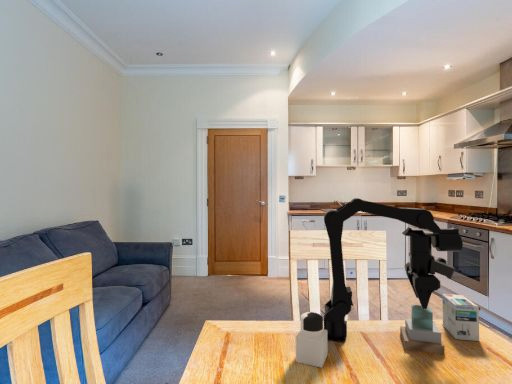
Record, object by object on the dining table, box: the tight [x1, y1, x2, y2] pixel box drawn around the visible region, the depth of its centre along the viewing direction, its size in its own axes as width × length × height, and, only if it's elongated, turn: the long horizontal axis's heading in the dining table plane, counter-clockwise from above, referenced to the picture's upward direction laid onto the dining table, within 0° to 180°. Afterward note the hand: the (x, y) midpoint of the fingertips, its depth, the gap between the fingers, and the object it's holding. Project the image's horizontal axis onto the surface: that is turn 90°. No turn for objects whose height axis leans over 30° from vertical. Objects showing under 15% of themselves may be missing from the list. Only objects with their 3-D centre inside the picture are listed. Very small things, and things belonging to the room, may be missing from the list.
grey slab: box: [404, 318, 442, 343], centre depth 92 cm, size 8×8×3 cm
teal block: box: [411, 304, 434, 330], centre depth 92 cm, size 5×5×5 cm
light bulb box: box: [441, 293, 480, 342], centre depth 98 cm, size 11×7×11 cm, turn 168°
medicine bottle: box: [295, 311, 329, 368], centre depth 84 cm, size 7×7×12 cm
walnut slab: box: [399, 325, 445, 355], centre depth 92 cm, size 10×10×3 cm
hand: (421, 303), depth 92 cm, fingers open, 9 cm apart
